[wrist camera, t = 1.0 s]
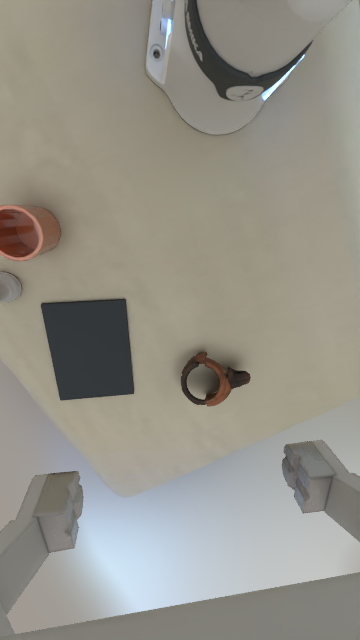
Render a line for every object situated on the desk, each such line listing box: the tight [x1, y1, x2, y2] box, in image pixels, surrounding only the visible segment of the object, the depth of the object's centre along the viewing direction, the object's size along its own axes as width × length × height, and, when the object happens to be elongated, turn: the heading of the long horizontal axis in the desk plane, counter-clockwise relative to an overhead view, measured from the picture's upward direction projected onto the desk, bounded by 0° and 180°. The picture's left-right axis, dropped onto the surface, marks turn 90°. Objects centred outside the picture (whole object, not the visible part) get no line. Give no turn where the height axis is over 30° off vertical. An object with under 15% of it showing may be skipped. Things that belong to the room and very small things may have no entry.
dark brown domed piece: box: [181, 352, 250, 406], centre depth 50 cm, size 12×10×8 cm
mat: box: [41, 299, 134, 400], centre depth 48 cm, size 18×13×1 cm
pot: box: [0, 205, 61, 261], centre depth 37 cm, size 6×6×8 cm
